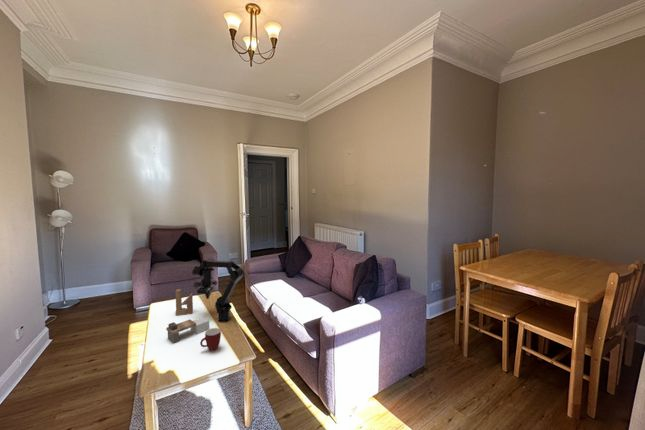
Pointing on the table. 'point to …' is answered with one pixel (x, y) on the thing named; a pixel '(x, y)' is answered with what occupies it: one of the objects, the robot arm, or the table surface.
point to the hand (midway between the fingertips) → (207, 298)
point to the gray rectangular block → (200, 326)
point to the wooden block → (179, 304)
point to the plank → (180, 326)
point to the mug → (212, 339)
